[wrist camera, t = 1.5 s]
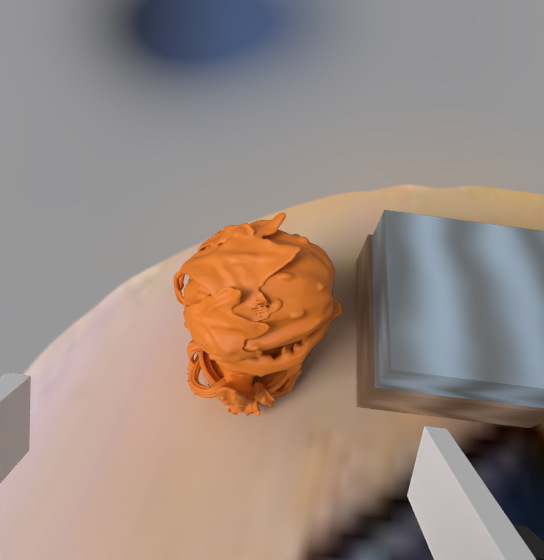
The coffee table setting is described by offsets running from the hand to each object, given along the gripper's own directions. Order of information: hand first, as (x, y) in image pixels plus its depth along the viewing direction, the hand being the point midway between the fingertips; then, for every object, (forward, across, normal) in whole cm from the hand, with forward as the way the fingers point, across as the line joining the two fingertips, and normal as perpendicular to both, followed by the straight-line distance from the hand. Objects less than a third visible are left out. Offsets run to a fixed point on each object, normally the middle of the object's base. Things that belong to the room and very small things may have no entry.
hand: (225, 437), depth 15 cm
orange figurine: (+23, +1, -8) cm, 25 cm away
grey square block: (+27, +18, -4) cm, 32 cm away
